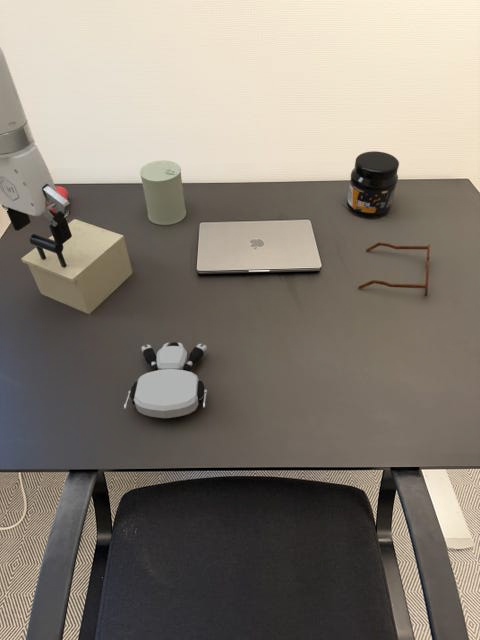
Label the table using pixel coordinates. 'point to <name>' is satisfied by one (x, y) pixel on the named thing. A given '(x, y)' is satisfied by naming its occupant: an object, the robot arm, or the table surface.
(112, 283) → the open box
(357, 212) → the supplement container
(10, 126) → the robot arm
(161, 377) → the robot toy
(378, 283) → the glasses
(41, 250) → the box lid
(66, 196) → the stress ball
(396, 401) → the table surface
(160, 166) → the can
